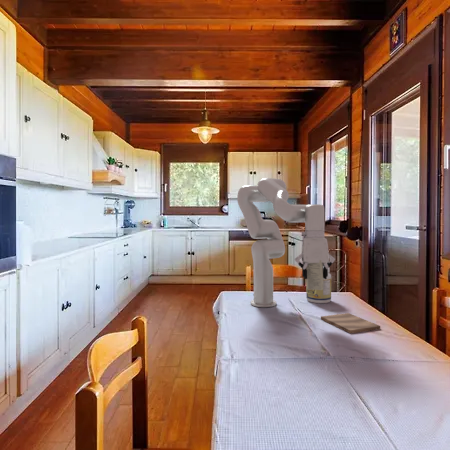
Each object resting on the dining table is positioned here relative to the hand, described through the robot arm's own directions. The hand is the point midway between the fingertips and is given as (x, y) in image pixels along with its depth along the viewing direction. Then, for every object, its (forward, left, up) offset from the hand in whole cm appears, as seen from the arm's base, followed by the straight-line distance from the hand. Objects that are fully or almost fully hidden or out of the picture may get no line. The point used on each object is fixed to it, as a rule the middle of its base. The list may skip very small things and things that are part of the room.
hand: (314, 278), depth 136 cm
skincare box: (0, 0, -5) cm, 5 cm away
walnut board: (+7, +11, -18) cm, 22 cm away
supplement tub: (-28, +21, -18) cm, 39 cm away
